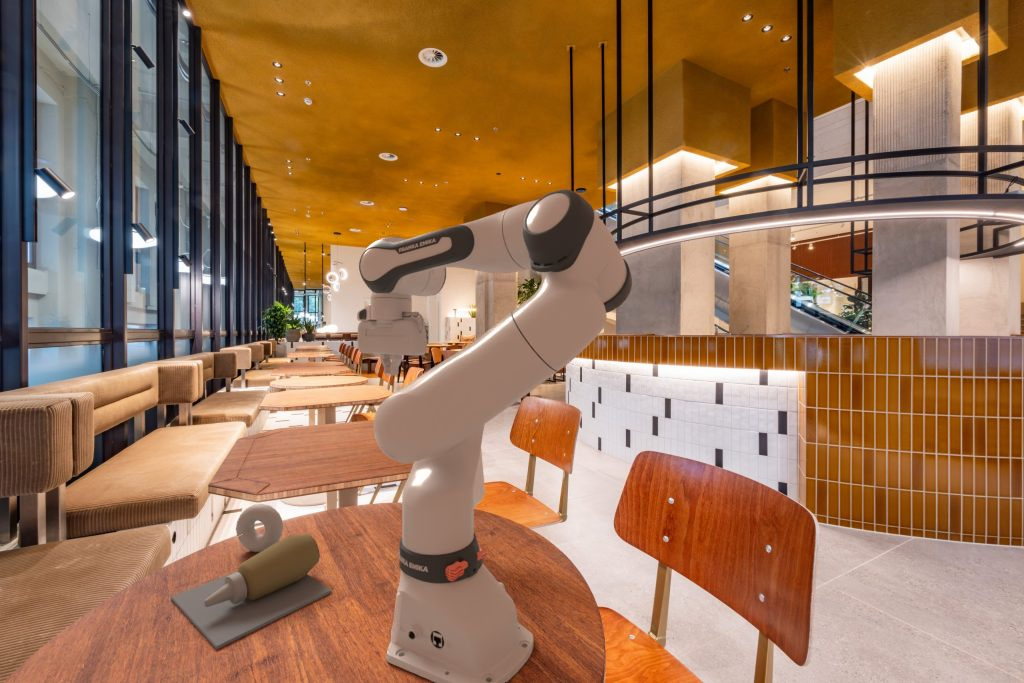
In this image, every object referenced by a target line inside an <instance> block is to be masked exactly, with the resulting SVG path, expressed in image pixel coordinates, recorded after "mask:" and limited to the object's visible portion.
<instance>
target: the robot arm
mask: <svg viewBox="0 0 1024 683" xmlns="http://www.w3.org/2000/svg"><path fill="white" fill-rule="evenodd" d="M617 245H618V244H616V241H615V238H614V236H613V235H612V233H611V232H610V229H609V228H608V227H607V226H606V224H605V223H604V222H603V221H602V219H601V218H600V217H599V216H598V214H596V213H595V211H594V208H593V206H592V204H590V203H589V201H587V200H586V199H585V197H583V196H582V195H580V194H579V193H577V192H576V191H573V190H571V189H558V190H556V191H552V192H549V193H547V194H545V195H543V196H542V197H540V198H539V199H535V200H531V201H528V202H524V203H521V204H518V205H515V206H512V207H509V208H507V209H505V210H501V211H499V212H498V211H497V212H495V213H493V214H491V215H488V216H484V217H482V218H479V219H475V220H473V221H468V222H465V223H464V222H463V223H461V224H457V225H454V226H450V227H446V228H441V229H438V230H435V231H430V232H427V233H424V234H420V235H417V236H414V237H410V238H407V239H406V238H404V237H403V238H402V237H399V236H390V237H383V238H380V239H378V240H376V241H374V242H372V243H371V244H369V245H368V246H367V247H366V249H365V250H364V251H363V253H362V254H361V256H360V257H359V258H360V259H359V262H358V270H359V274H360V277H361V279H362V281H363V282H364V284H365V286H366V287H367V288H368V289H369V290H370V291H371V295H370V303H369V304H367V305H366V306H365V307H364V308H362V309H360V310H358V312H357V313H356V318H357V320H358V322H359V323H358V325H357V348H358V350H359V353H361V354H380V355H379V358H380V362H381V364H382V367H383V374H384V375H386V376H397V375H399V367H400V366H401V363H402V361H403V356H424V355H426V353H427V351H428V339H427V330H426V326H425V323H424V322H425V318H424V317H423V316H422V314H421V313H420V312H419V311H412V310H413V308H412V307H413V306H412V305H413V300H412V298H413V297H412V296H416V297H432V296H436V295H438V293H439V292H441V290H442V289H443V288H444V285H445V283H446V280H447V268H459V269H465V270H472V271H477V272H482V273H488V274H512V273H518V272H522V271H526V270H530V269H532V271H535V272H538V273H542V277H541V278H542V279H541V283H540V286H539V287H538V288H537V291H535V293H533V294H532V295H531V296H530V297H529V298H528V299H526V300H525V301H524V302H522V303H521V304H520V305H518V306H517V307H515V309H513V310H511V311H510V312H509V313H508V314H507V315H506V316H504V317H503V318H502V319H500V320H499V321H498V322H497V323H495V324H494V325H493V326H491V327H490V328H489V329H488V330H487V331H485V332H484V333H483V334H481V335H480V336H479V337H477V339H475V340H474V341H473V342H471V343H470V344H468V345H467V346H466V347H463V348H462V349H460V350H459V351H457V352H456V353H454V354H452V355H450V356H449V357H447V358H446V359H443V361H441V362H440V363H438V364H437V365H435V366H433V367H432V368H430V369H428V370H427V371H426V372H424V373H423V374H421V375H420V376H418V377H417V378H415V379H414V380H412V381H411V382H410V383H408V384H406V385H405V386H404V387H402V388H401V389H399V390H397V391H396V392H394V393H393V394H391V395H389V396H388V397H387V398H385V399H384V400H382V402H381V403H380V405H379V406H378V407H377V410H376V411H375V414H374V417H373V427H372V428H373V434H374V439H375V441H376V443H377V445H378V447H379V449H380V450H381V451H382V453H384V455H386V457H387V458H390V459H391V460H392V461H395V462H396V463H400V464H412V463H413V464H412V466H411V467H412V468H411V470H410V473H409V476H408V477H407V479H406V481H405V483H404V486H403V489H402V496H401V498H402V499H401V500H402V504H401V505H402V506H401V508H402V510H401V511H402V513H401V515H402V518H401V519H402V520H401V521H402V523H401V524H402V525H401V526H402V528H401V532H402V533H401V534H402V536H401V538H400V540H399V549H398V554H397V555H398V565H399V569H400V578H399V582H398V587H397V591H396V593H395V594H396V595H395V603H394V605H395V606H394V612H393V622H392V627H391V630H390V642H389V644H388V647H387V651H386V657H385V659H386V661H387V663H389V664H392V665H394V666H396V667H398V668H400V669H402V670H405V671H407V672H410V673H413V674H415V675H417V676H420V677H421V678H425V679H427V680H429V681H431V682H434V683H505V682H506V683H508V682H509V681H510V680H511V679H512V677H514V676H515V675H516V674H518V672H519V671H520V670H521V669H522V667H524V665H525V664H526V663H527V661H529V658H530V657H531V654H532V652H533V650H534V646H535V645H534V644H535V643H534V642H535V640H534V634H533V633H532V632H531V631H530V630H529V629H527V628H526V627H524V626H523V625H522V624H521V623H519V621H518V612H517V608H516V604H515V602H514V600H513V598H512V597H511V596H510V595H509V594H508V593H507V590H506V586H505V584H504V583H503V582H500V581H498V580H497V579H496V578H495V577H494V576H493V574H492V573H491V571H490V570H489V569H487V568H488V567H486V565H484V563H483V561H484V560H483V558H484V557H487V555H488V553H486V552H487V551H488V547H484V548H483V549H481V548H480V545H479V541H478V538H477V536H476V533H475V532H474V529H475V526H474V525H475V519H474V518H475V507H474V488H475V479H476V472H477V467H478V461H479V456H480V450H481V451H482V443H483V435H484V428H485V425H486V423H488V422H490V421H491V420H492V419H494V418H495V417H496V416H498V415H500V414H501V413H503V412H504V411H506V410H507V409H508V408H510V407H511V406H513V405H514V404H516V403H517V402H518V401H520V400H521V399H523V397H525V396H526V395H528V394H529V393H531V392H532V391H533V390H534V389H536V388H537V387H538V386H541V384H543V383H544V382H545V381H547V380H548V379H550V378H551V377H553V375H555V374H556V373H558V372H559V371H560V370H562V369H564V368H565V367H566V366H567V365H568V364H569V363H570V362H572V361H573V360H574V359H575V358H577V357H578V356H579V355H580V354H581V353H582V352H583V351H584V350H585V349H587V347H588V346H590V344H591V343H592V342H593V341H594V340H595V339H596V337H598V336H599V335H600V333H601V332H602V331H603V330H604V327H605V326H606V322H607V318H608V317H607V313H610V312H612V311H614V310H615V309H618V308H620V306H622V305H623V304H624V302H626V300H627V298H628V297H629V295H630V293H631V291H632V288H633V278H632V273H631V270H630V266H629V264H628V262H627V260H626V259H625V258H623V255H622V253H621V251H620V249H619V247H618V246H617ZM480 549H481V551H480Z"/></svg>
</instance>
